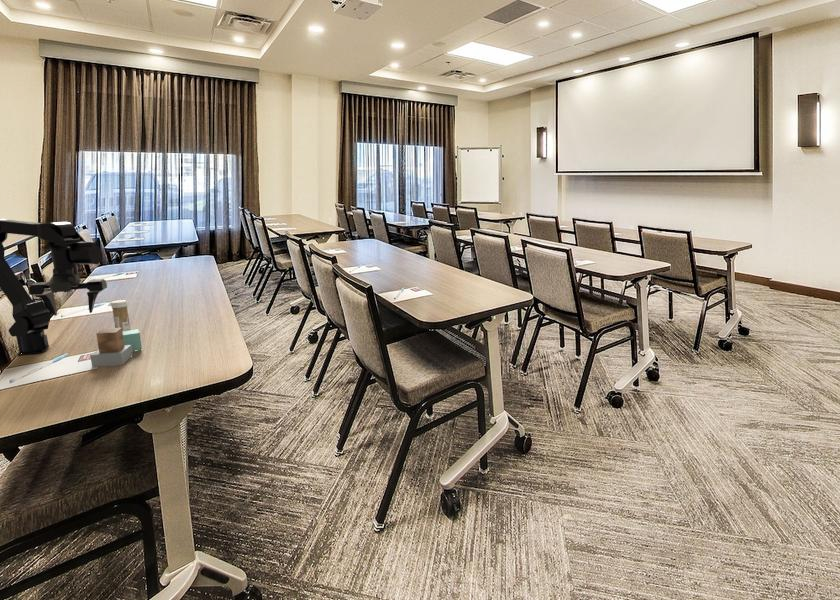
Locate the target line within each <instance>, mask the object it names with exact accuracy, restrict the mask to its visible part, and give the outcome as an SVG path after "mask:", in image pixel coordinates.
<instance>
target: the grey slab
mask: <svg viewBox="0 0 840 600" xmlns="http://www.w3.org/2000/svg"><path fill="white" fill-rule="evenodd" d="M124 346H125V347H124V348H123V349H121V350H120V351H119V352H111V353H99V348H98V349H97V350H96V351H94V352H92V353H91V354H90V362H91V367H92V368H100V366H101V367H102V366H104V367H114V366H115V367H116V366H117V365H118V366H124V365H125V364H126V363H127V362H128V361H129V360H130V359H131V358H132V357H131V356H132V355H133V356H134V354H133V353H134V352H132V346H131V345H124ZM130 357H131V358H130ZM129 358H130V359H129ZM128 359H129V360H128ZM127 360H128V361H127ZM126 361H127V362H126ZM125 362H126V363H125ZM124 363H125V364H124ZM123 364H124V365H123Z"/></svg>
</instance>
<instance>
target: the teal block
mask: <svg viewBox="0 0 840 600" xmlns="http://www.w3.org/2000/svg"><path fill="white" fill-rule="evenodd" d="M122 332H123V339H124V345H131V346H132V351H135V350H141V349H142V350H143V347H142V341H141V333H140V331H139V328H137V329H130V330H128V331H122Z"/></svg>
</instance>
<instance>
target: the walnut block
mask: <svg viewBox="0 0 840 600" xmlns="http://www.w3.org/2000/svg"><path fill="white" fill-rule="evenodd" d="M96 340H97V347H98V349H99V353H111V352H119V351H120V350H121V349H123V348H124V347H125V346H124V339H123V332H122V328H115V327H112V328H109V327H108V328H102V329H100V330H99V331H97V332H96Z"/></svg>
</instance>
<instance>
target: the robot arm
mask: <svg viewBox="0 0 840 600" xmlns="http://www.w3.org/2000/svg"><path fill="white" fill-rule="evenodd" d="M9 234H11V235H19V236H20V235H21V236H31V237H36V238H39V239H40V240H41V241H46V242H47V243H46V244H45V245H44V246H42V249H43V250H50V253H51V259H52V266H53V269H52V276H51V278H50V279H49V281H42V282H35V283H32V284H30V285H29V286H28V288H27V290H28V291H27V290H26V289H25V287H24V286H23V283H21V281H20V280H19V278H18V276H17V275H16V273H15V272H14V270H13V269H12V267H11V266H10V265H9V263H8V261H7V260H6V258H5V250H6V248H5V246H4V245H3V243H5V241H6V240H7V239H8V235H9ZM103 256H104V253H103V251H102V249H101V248H100V247H99V246H98V245H97V243H96V241H86V240H85V239H84V238H83V237H82V235H81V234H79V232H78V231H77V230H76V229H75V227H74V225H73V223H71V222H69V221H58V222H57V221H56V222H44V223H43V222H34V221H24V220H15V219H7V218H5V217H4V218H0V289H1V290H2V292H3V294H4V295H5V297H6V298H7V299H8V301H9V302H10V304H11V305H12V313H11V314H12V318H13V319H14V322H13V324H12V325H11V326H10V327H9V329H8V330H7V331H8V333H9V334H10V336H11V337H16V341H17V346H18V347H17V348H18V352H17V353H16V355H17V356H21V355H20V354H21V353H22V354H24V355H34V354H42V353H45V351H46V350H48V349H49V348H50V345H49V341H48V335H47V334H46V333H45V330H48V329H49V325H50V322H51V318H52V317H51V314H50V313H52V314H53V316H54V317H55V316H57V315H58V308H57V304H56V299H55V294H56V293H69V292H71V291H72V290H82V289H83V290H88V291H87V292H86V295H87V299H88V300H87V301H88V303H87V304H88V311H89V314H92V313H93V310H94V306H95V302H96V300H97V297H98V295H99V294H100V293H101V292H102V291H104V290H105V289H107V288H108V284H107V281H106V280H105V279H104V278H98V279H90V280H88V281H87V282H81V281H82V280H81V278H80V275H79V265H99V264H100V263H101V262H102V261H103V259H104V257H103ZM31 296H34V297H35V298H40V299H41V300H38V301H36V300H34V299H33V298H32V297H31ZM46 305H47V306H46ZM47 307H48V308H49V309H48V308H47ZM48 347H49V348H48Z"/></svg>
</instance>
